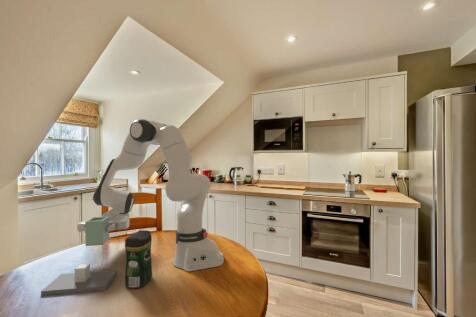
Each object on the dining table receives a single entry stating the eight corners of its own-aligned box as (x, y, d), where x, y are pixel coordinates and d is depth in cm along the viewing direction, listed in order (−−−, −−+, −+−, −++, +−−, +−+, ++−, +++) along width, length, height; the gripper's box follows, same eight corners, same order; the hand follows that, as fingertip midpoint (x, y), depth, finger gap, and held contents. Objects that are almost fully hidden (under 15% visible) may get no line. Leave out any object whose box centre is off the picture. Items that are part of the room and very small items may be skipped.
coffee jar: (135, 274, 88) (136, 228, 88) (154, 275, 87) (155, 229, 87) (120, 289, 79) (120, 236, 78) (141, 290, 78) (141, 238, 78)
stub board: (117, 273, 89) (117, 257, 89) (105, 290, 78) (105, 271, 78) (61, 277, 85) (61, 261, 85) (41, 295, 74) (41, 276, 74)
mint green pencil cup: (109, 239, 97) (109, 216, 97) (102, 245, 91) (102, 220, 91) (93, 240, 96) (92, 217, 96) (85, 246, 90) (85, 221, 89)
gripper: (86, 215, 104) (68, 223, 91) (132, 213, 108) (122, 221, 94) (86, 228, 104) (69, 239, 91) (132, 226, 108) (122, 236, 94)
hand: (96, 230), depth 92 cm, fingers closed on mint green pencil cup, 6 cm apart
